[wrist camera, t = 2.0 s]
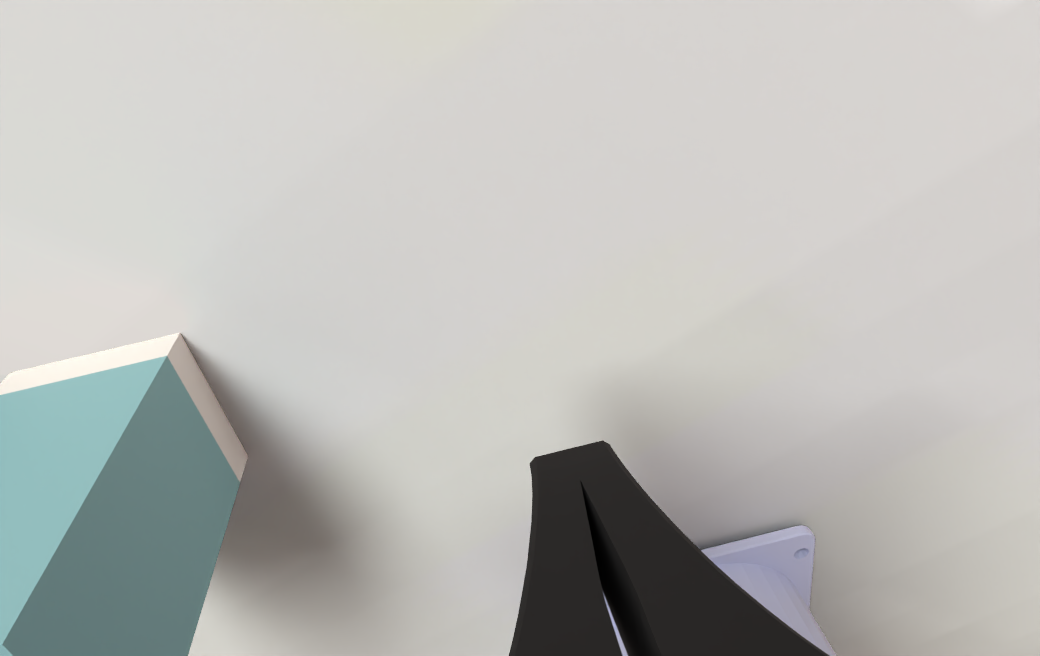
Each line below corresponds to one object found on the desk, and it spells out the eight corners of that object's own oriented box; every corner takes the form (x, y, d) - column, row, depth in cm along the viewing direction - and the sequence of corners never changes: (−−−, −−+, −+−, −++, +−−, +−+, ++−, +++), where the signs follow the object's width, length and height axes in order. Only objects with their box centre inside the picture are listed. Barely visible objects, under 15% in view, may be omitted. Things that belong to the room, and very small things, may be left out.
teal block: (248, 456, 18) (148, 785, 11) (99, 492, 17) (-98, 848, 11) (180, 332, 15) (1, 645, 9) (10, 372, 15) (-307, 721, 8)
